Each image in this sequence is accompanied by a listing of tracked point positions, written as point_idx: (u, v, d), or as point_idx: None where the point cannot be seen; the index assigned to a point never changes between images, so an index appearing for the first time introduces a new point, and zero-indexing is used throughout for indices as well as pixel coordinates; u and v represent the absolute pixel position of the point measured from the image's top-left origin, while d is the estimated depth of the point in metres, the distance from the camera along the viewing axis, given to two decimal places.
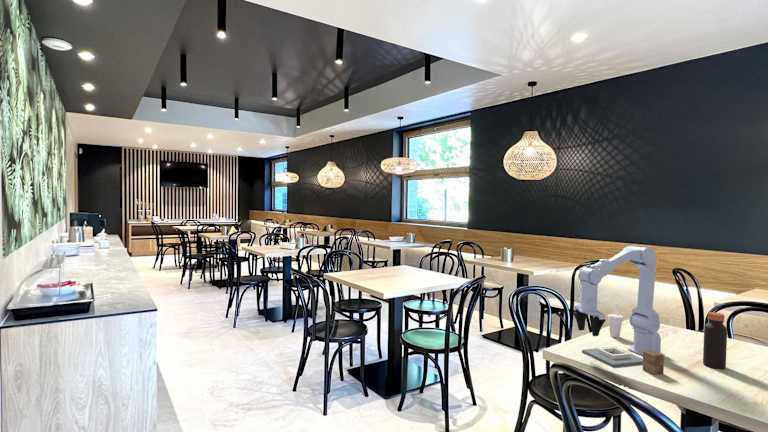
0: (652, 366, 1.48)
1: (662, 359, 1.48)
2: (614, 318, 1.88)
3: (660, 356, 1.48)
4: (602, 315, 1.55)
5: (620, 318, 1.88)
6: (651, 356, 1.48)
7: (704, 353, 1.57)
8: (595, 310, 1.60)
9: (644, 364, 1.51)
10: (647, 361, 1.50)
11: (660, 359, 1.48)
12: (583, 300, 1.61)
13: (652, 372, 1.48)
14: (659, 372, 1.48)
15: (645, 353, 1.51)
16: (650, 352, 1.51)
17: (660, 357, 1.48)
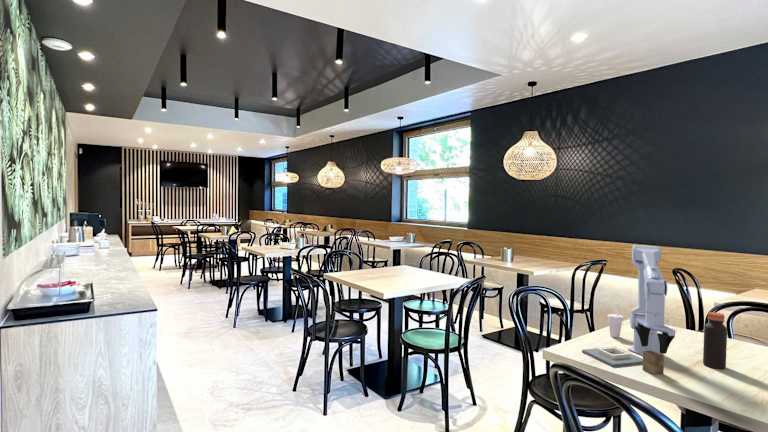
0: (652, 366, 1.48)
1: (662, 359, 1.48)
2: (614, 318, 1.88)
3: (660, 356, 1.48)
4: (672, 331, 1.43)
5: (620, 318, 1.88)
6: (651, 356, 1.48)
7: (704, 353, 1.57)
8: (662, 325, 1.47)
9: (644, 364, 1.51)
10: (647, 361, 1.50)
11: (660, 359, 1.48)
12: (649, 314, 1.49)
13: (652, 372, 1.48)
14: (659, 372, 1.48)
15: (645, 353, 1.51)
16: (650, 352, 1.51)
17: (660, 357, 1.48)
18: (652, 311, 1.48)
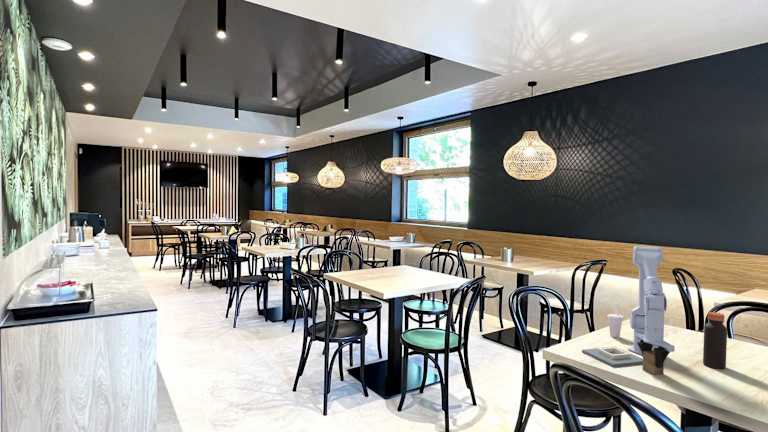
0: (652, 366, 1.48)
1: None
2: (614, 318, 1.88)
3: None
4: (671, 347, 1.43)
5: (620, 318, 1.88)
6: (651, 356, 1.48)
7: (704, 353, 1.57)
8: (662, 340, 1.48)
9: (644, 364, 1.51)
10: (647, 361, 1.50)
11: None
12: (648, 329, 1.49)
13: (652, 372, 1.48)
14: (659, 372, 1.48)
15: (645, 353, 1.51)
16: (650, 352, 1.51)
17: None
18: (652, 326, 1.48)
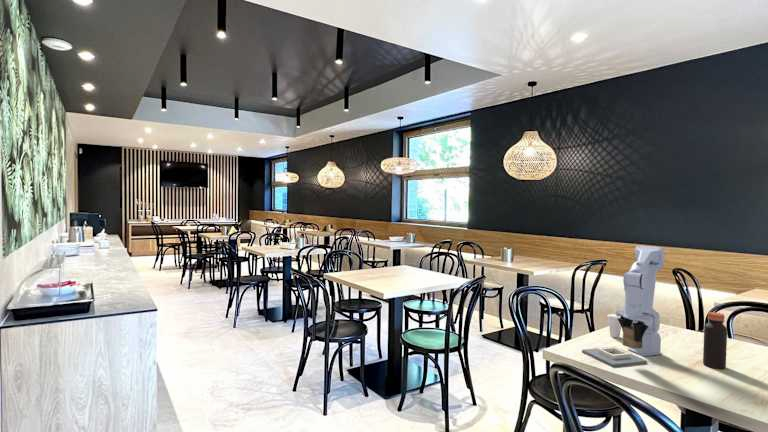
0: (631, 340, 1.55)
1: None
2: (614, 318, 1.88)
3: None
4: (649, 321, 1.50)
5: None
6: (630, 330, 1.55)
7: (704, 353, 1.57)
8: (640, 316, 1.54)
9: (624, 339, 1.58)
10: (627, 336, 1.57)
11: None
12: (628, 305, 1.56)
13: (631, 346, 1.55)
14: (638, 346, 1.55)
15: (625, 328, 1.58)
16: (630, 327, 1.57)
17: None
18: (628, 302, 1.56)
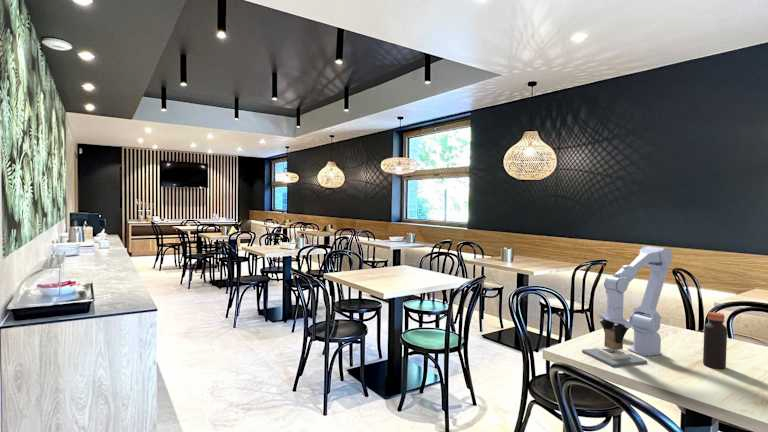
0: (612, 342, 1.62)
1: None
2: None
3: None
4: (629, 323, 1.57)
5: None
6: (611, 332, 1.62)
7: (704, 353, 1.57)
8: (621, 318, 1.61)
9: (605, 340, 1.65)
10: (608, 337, 1.64)
11: None
12: (609, 308, 1.63)
13: (612, 347, 1.62)
14: (618, 347, 1.62)
15: (606, 330, 1.64)
16: (611, 329, 1.64)
17: None
18: (607, 304, 1.64)
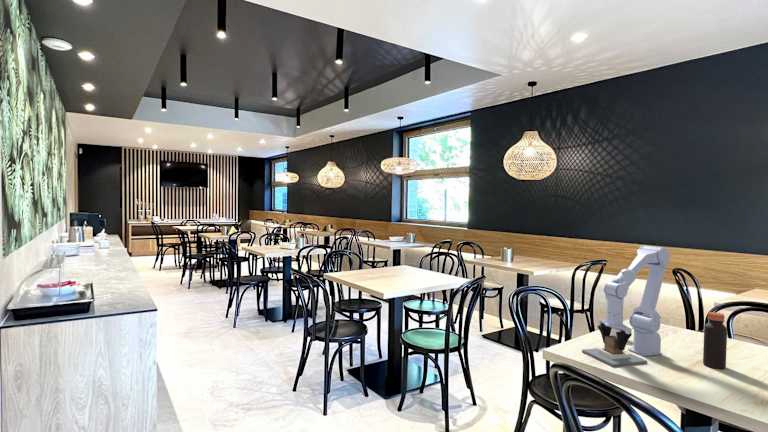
0: (612, 350, 1.62)
1: None
2: None
3: None
4: (629, 329, 1.57)
5: None
6: (611, 340, 1.62)
7: (704, 353, 1.57)
8: (621, 324, 1.61)
9: (605, 348, 1.65)
10: (608, 345, 1.64)
11: None
12: (609, 314, 1.63)
13: None
14: None
15: (606, 338, 1.64)
16: (611, 337, 1.64)
17: None
18: (607, 310, 1.64)
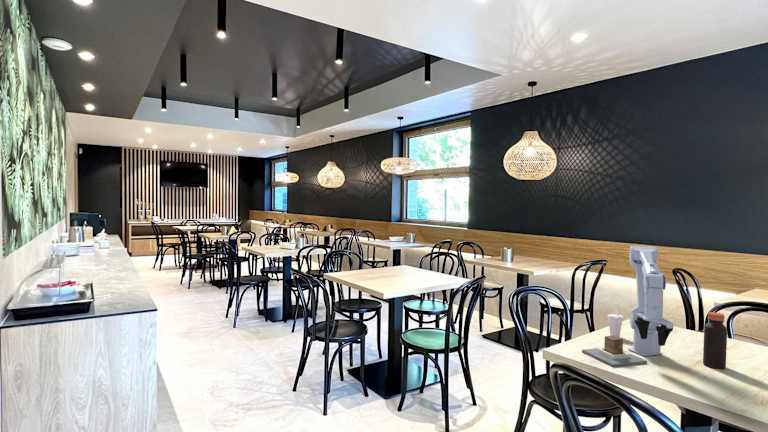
0: (612, 350, 1.62)
1: (621, 343, 1.62)
2: (614, 318, 1.88)
3: (619, 340, 1.62)
4: (670, 324, 1.47)
5: (620, 318, 1.88)
6: (611, 340, 1.62)
7: (704, 353, 1.57)
8: (661, 318, 1.52)
9: (605, 348, 1.65)
10: (608, 345, 1.64)
11: (619, 343, 1.62)
12: (647, 307, 1.53)
13: None
14: None
15: (606, 338, 1.64)
16: (611, 337, 1.64)
17: (619, 341, 1.62)
18: (651, 305, 1.52)
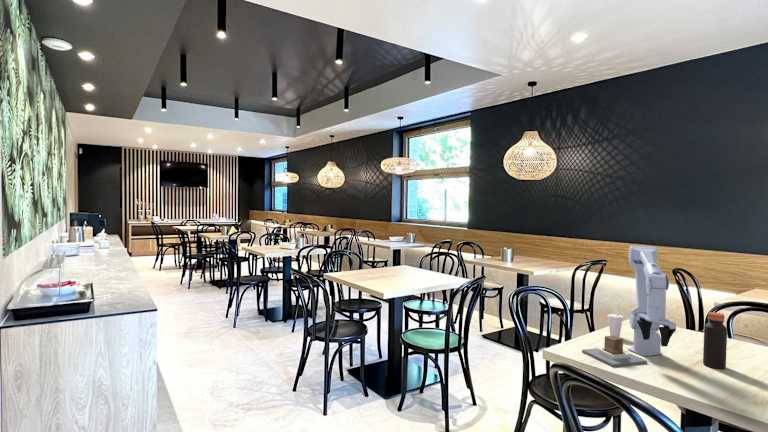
0: (612, 350, 1.62)
1: (621, 343, 1.62)
2: (614, 318, 1.88)
3: (619, 340, 1.62)
4: (673, 324, 1.47)
5: (620, 318, 1.88)
6: (611, 340, 1.62)
7: (704, 353, 1.57)
8: (663, 319, 1.51)
9: (605, 348, 1.65)
10: (608, 345, 1.64)
11: (619, 343, 1.62)
12: (650, 308, 1.53)
13: None
14: None
15: (606, 338, 1.64)
16: (611, 337, 1.64)
17: (619, 341, 1.62)
18: (654, 305, 1.52)
